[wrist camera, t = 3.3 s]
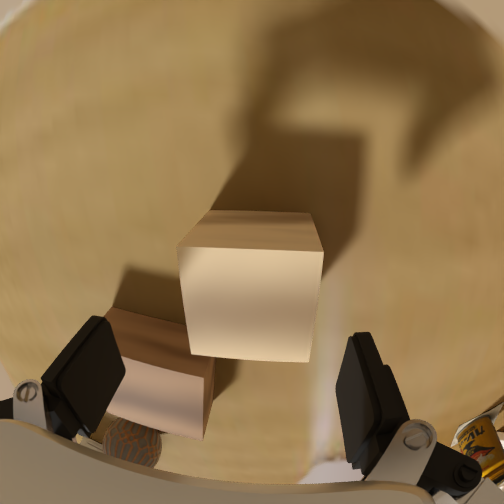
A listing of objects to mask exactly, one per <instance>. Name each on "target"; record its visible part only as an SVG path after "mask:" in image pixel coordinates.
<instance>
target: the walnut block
mask: <svg viewBox="0 0 504 504" xmlns="http://www.w3.org/2000/svg"><path fill="white" fill-rule="evenodd" d="M104 317H105V318H106V319H107V321H109V322H110V324H111V327H112V330H113V334H114V337H115V340H116V343H117V346H118V349H119V351H120V354H121V357H122V360H123V363H124V365H125V368H126V373H125V376H124V378H123V380H122V382H121V384H120V385H119V387H118V389H117V391H116V393H115V395H114V396H113V398H112V400H111V402H110V404H109V406H108V408H107V412H108V413H110V414H113V415H116V416H118V417H121V418H124V419H127V420H129V421H132V422H135V423H138V424H141V425H144V426H147V427H151V428H154V429H157V430H161V431H164V432H168V433H171V434H175V435H179V436H183V437H187V438H191V439H195V440H200V441H203V438H204V434H205V430H206V426H207V422H208V418H209V414H210V410H211V406H212V403H213V392H214V378H215V365H216V357H211V356H202V355H194V354H191V349H190V343H189V337H188V331H187V325H183V324H179V323H174V322H170V321H166V320H161V319H157V318H153V317H149V316H145V315H141V314H137V313H133V312H129V311H126V310H122V309H118V308H115V307H111V308H110V310H109V311H108V312H107V313H106V314H105V316H104Z"/></svg>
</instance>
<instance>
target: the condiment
mask: <svg viewBox="0 0 504 504" xmlns="http://www.w3.org/2000/svg"><path fill="white" fill-rule="evenodd" d="M503 404H504V402H503V403H502V404H500V405H498V406H496V407H495V408H493V409H491V410H490V411H488V412H486V413H484V414H482V415H480V416H478V417H476V418H474V419H472V420H470V421H468V422H467V423H464V424H462V425H461V426H460V427H459V428H458V430H457V432H456V434H455V437H454V439H453V442H452V445H451V446H454V445H456V444H458V445H459V447H460V451H461V453H462V454H464V455H467V456H469V457H471V458H473V459H475V460H476V461H478V463H479V464H480V466H481V468H482V477H483V478H484V479H486V478H487V477H488V478H489V479H490V480H491V481H492V482H493V483H495V484H496V485H497V486H499V485H500V484H502V483H503V482H504V449H503V446H502V444H501V442H500V439H499V437H498V434H497V432H496V430H495V427H494V426H493V424H494V422H495V420H496V418H497V416H498V414H499V411H500V410H501V408H502V406H503ZM489 414H491V415H489Z"/></svg>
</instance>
